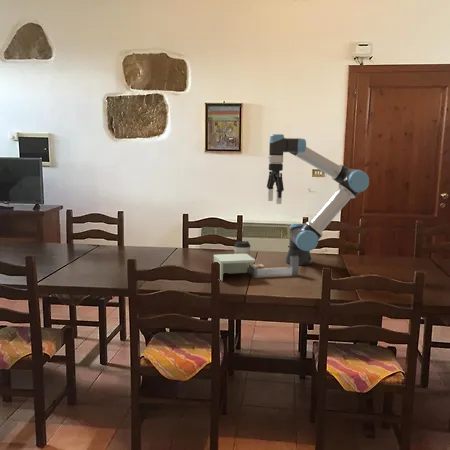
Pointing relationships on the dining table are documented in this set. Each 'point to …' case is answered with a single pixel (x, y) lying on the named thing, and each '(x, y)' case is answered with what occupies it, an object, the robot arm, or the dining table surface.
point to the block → (258, 265)
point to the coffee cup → (242, 248)
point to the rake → (276, 270)
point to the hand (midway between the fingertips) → (274, 202)
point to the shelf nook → (233, 263)
